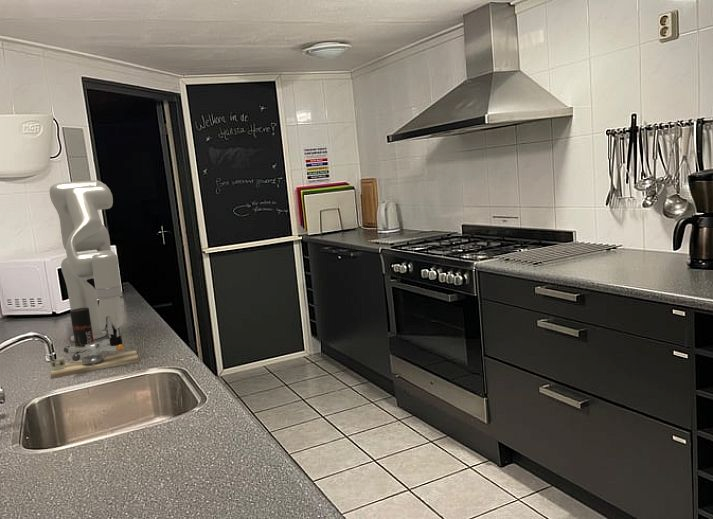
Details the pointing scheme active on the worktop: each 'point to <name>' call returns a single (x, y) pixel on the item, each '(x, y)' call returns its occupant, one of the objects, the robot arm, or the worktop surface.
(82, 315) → the deodorant
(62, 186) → the robot arm
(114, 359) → the board
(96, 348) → the capstan
